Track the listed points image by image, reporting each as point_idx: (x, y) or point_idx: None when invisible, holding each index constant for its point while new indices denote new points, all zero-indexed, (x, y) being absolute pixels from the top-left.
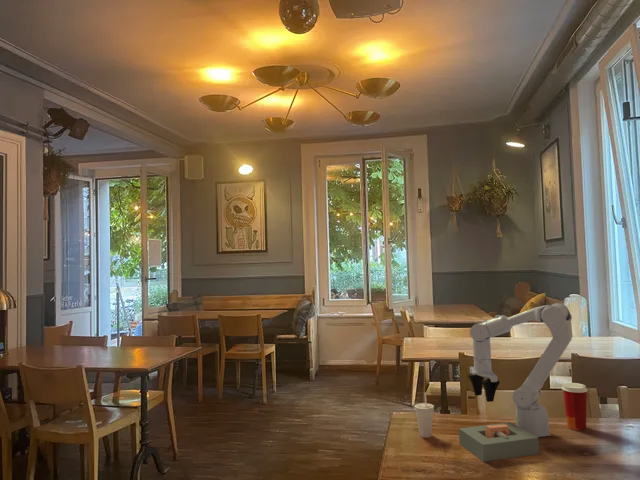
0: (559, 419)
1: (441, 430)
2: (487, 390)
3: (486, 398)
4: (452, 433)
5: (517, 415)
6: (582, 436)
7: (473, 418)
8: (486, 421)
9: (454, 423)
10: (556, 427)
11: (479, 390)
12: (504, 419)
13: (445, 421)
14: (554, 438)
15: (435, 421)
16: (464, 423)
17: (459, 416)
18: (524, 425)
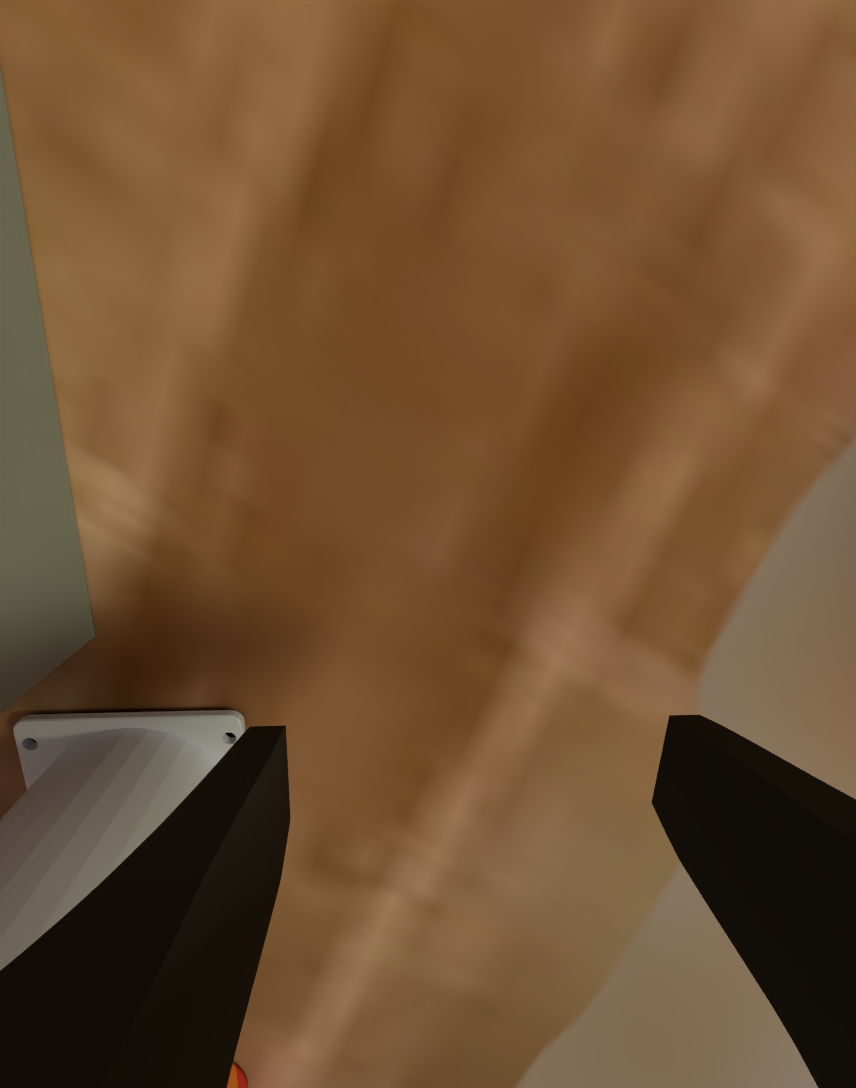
0: (365, 1072)
1: (477, 54)
2: (19, 974)
3: (254, 753)
4: (346, 133)
5: (25, 868)
6: None
7: (638, 586)
8: (525, 648)
9: (606, 341)
10: None
11: (714, 851)
12: (506, 792)
13: (698, 280)
14: None
15: (752, 165)
16: (563, 439)
17: (743, 497)
18: (5, 816)
